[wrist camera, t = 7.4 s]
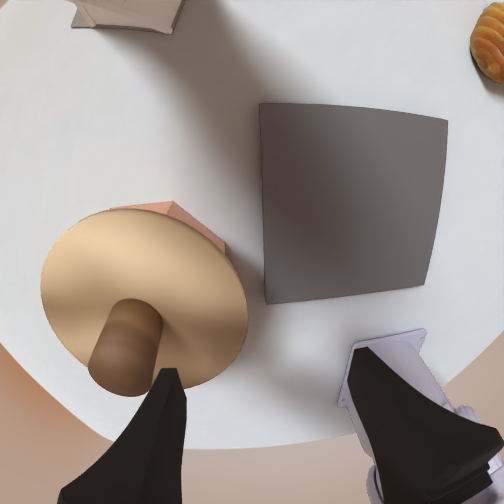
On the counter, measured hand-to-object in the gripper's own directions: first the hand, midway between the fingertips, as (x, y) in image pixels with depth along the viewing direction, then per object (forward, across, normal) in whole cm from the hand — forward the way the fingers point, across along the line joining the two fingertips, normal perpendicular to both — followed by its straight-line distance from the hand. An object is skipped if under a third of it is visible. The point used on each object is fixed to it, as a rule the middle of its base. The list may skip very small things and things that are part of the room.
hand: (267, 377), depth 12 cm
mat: (+10, -8, -4) cm, 13 cm away
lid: (+5, +6, 0) cm, 8 cm away
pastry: (+10, -22, -18) cm, 31 cm away
